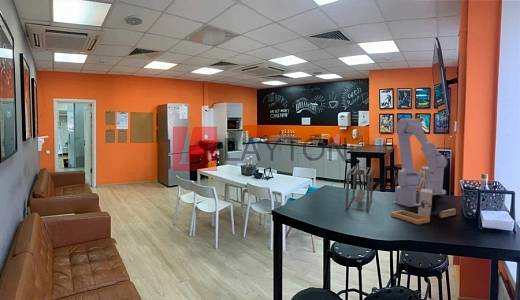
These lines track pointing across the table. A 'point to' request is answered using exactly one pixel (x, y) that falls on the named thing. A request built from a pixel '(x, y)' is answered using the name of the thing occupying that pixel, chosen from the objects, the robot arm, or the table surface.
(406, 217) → the tan wooden flat tray
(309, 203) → the table surface
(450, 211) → the birch tunnel
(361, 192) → the newton's cradle
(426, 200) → the ink box
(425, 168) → the candy bar box
